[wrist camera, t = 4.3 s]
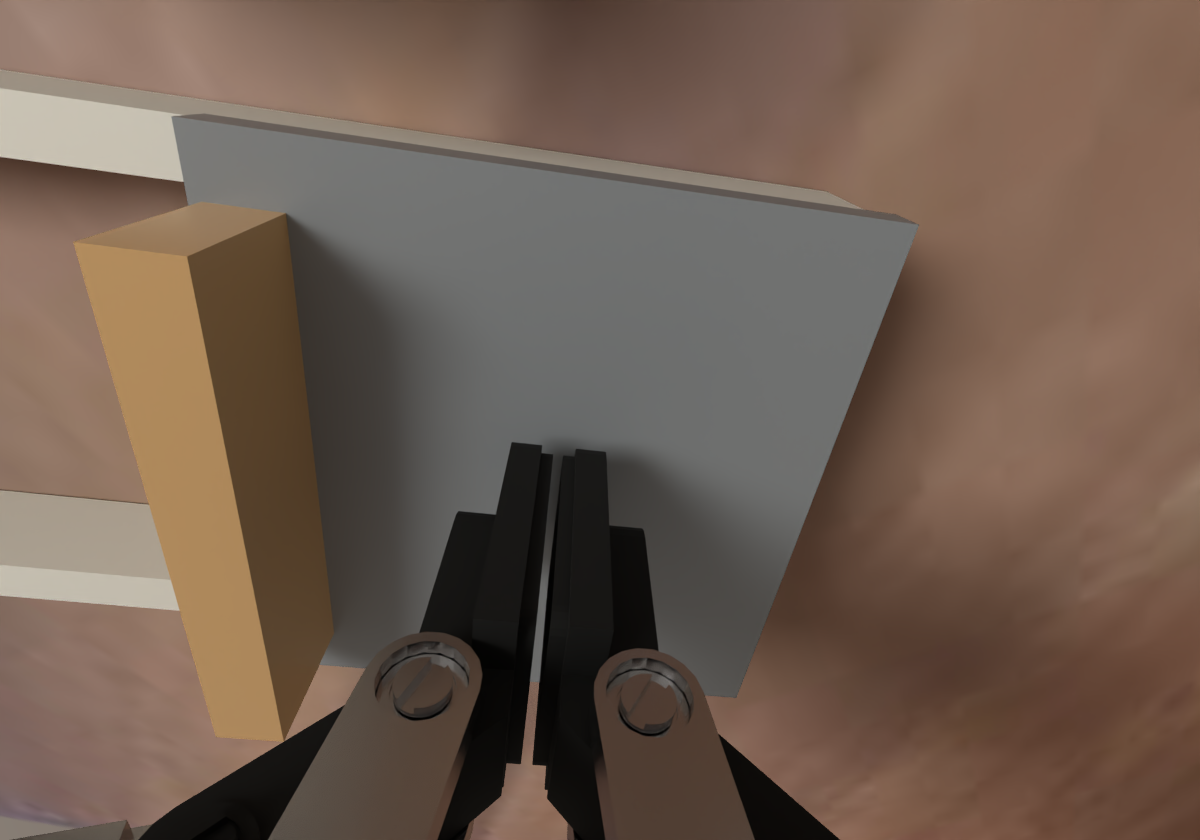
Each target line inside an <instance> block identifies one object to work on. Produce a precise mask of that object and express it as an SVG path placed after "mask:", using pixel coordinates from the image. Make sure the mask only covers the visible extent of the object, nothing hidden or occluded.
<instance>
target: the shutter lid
mask: <svg viewBox="0 0 1200 840" xmlns="http://www.w3.org/2000/svg"><path fill="white" fill-rule="evenodd" d="M171 118H172V123H173V128H174V133H175V139H176V144H177V149H178V154H179V160H180V165H181V170H182V175H183V181H184V186H185V191H186V196H187V202H188V206H186V207H183V208H180V209H177V210H173V211H170V212H167V213H164V214H161V215H158V216H154V217H151V218H148V219H145V220H142V221H138V222H135V223H132V224H129V225H126V226H123V227H119V228H116V229H113V230H110V231H107V232H103V233H100V234H97V235H94V236H91V237H88V238H84V239H81V240H78V241H75V242H73V243H74V246H75V250H76V253H77V257H78V260H79V264H80V267H81V270H82V274H83V277H84V281H85V284H86V288H87V291H88V295H89V298H90V302H91V305H92V309H93V312H94V316H95V319H96V322H97V326H98V329H99V333H100V336H101V340H102V343H103V347H104V350H105V354H106V357H107V361H108V364H109V368H110V371H111V374H112V378H113V381H114V385H115V388H116V392H117V395H118V399H119V402H120V406H121V409H122V413H123V416H124V420H125V423H126V426H127V430H128V433H129V437H130V440H131V444H132V447H133V451H134V454H135V458H136V461H137V465H138V468H139V472H140V475H141V478H142V482H143V485H144V489H145V492H146V496H147V499H148V503H149V506H150V510H151V513H152V517H153V520H154V524H155V527H156V530H157V534H158V537H159V541H160V544H161V548H162V551H163V555H164V558H165V562H166V565H167V569H168V572H169V576H170V579H171V582H172V586H173V589H174V593H175V596H176V600H177V603H178V607H179V610H180V614H181V617H182V621H183V624H184V628H185V631H186V634H187V638H188V641H189V645H190V648H191V652H192V655H193V659H194V662H195V666H196V669H197V673H198V676H199V680H200V683H201V686H202V690H203V693H204V697H205V700H206V704H207V707H208V711H209V714H210V718H211V721H212V725H213V728H214V732H215V735H216V737H223V738H238V739H252V740H267V741H281V742H284V740H285V738H286V736H287V733H288V731H289V729H290V727H291V725H292V723H293V721H294V718H295V716H296V714H297V712H298V710H299V708H300V706H301V703H302V701H303V699H304V697H305V695H306V693H307V690H308V688H309V686H310V684H311V682H312V680H313V678H314V675H315V673H316V671H317V669H318V667H319V665H329V666H342V667H354V668H366V667H367V666H368V664H369V663H370V662H371V661H372V659H373V658H374V657H375V655H376V654H377V653H378V652H379V651H381V650H382V649H383V648H385V647H386V646H387V645H389V644H390V643H391V642H393V641H395V640H398V639H400V638H402V637H405V636H407V635H410V634H416V633H419V632H420V628H421V625H422V622H423V619H424V616H425V612H426V609H427V606H428V603H429V599H430V596H431V593H432V590H433V587H434V583H435V580H436V577H437V574H438V570H439V567H440V564H441V561H442V558H443V554H444V551H445V548H446V545H447V542H448V538H449V535H450V532H451V529H452V525H453V522H454V519H455V516H456V514H457V512H458V511H463V512H474V513H485V514H495V515H496V511H497V506H498V502H499V497H500V493H501V488H502V483H503V479H504V474H505V470H506V465H507V461H508V456H509V451H510V447H511V443H512V442H517V443H527V444H536V445H542V453H545V454H553V463H552V473H551V483H550V493H549V503H548V513H547V523H546V533H545V543H544V553H543V563H542V573H541V583H540V593H539V603H538V613H537V623H536V632H535V641H534V650H533V659H532V668H531V677H530V681H531V682H539V681H540V669H541V658H542V646H543V634H544V622H545V611H546V599H547V587H548V577H549V568H550V559H551V551H552V543H553V534H554V526H555V518H556V509H557V501H558V493H559V484H560V476H561V468H562V460H563V455H564V456H575V450H576V449H584V450H594V451H604V452H606V457H607V481H608V504H609V525H612V526H622V527H633V528H642V529H643V530H644V534H645V540H646V548H647V556H648V565H649V573H650V582H651V590H652V598H653V607H654V615H655V623H656V632H657V640H658V649H659V652H662V653H665V654H668V655H670V656H672V657H674V658H675V659H677V660H678V661H680V662H681V663H683V664H684V665H685V666H686V667H687V668H688V669H689V670H690V671H691V672H692V673H693V674H694V676H695V677H696V678H697V680H698V682H699V684H700V686H701V688H702V690H703V692H704V695H708V696H721V697H733V698H736V697H737V695H738V692H739V689H740V687H741V684H742V682H743V679H744V676H745V674H746V671H747V669H748V666H749V663H750V661H751V658H752V656H753V653H754V651H755V648H756V645H757V643H758V640H759V638H760V635H761V632H762V630H763V627H764V625H765V622H766V619H767V617H768V614H769V612H770V609H771V607H772V604H773V601H774V599H775V596H776V594H777V591H778V588H779V586H780V583H781V581H782V578H783V576H784V573H785V570H786V568H787V565H788V563H789V560H790V557H791V555H792V552H793V550H794V547H795V544H796V542H797V539H798V537H799V534H800V532H801V529H802V526H803V524H804V521H805V519H806V516H807V513H808V511H809V508H810V506H811V503H812V500H813V498H814V495H815V493H816V490H817V488H818V485H819V482H820V480H821V477H822V475H823V472H824V469H825V467H826V464H827V462H828V459H829V457H830V454H831V451H832V449H833V446H834V444H835V441H836V438H837V436H838V433H839V431H840V428H841V425H842V423H843V420H844V418H845V415H846V413H847V410H848V407H849V405H850V402H851V400H852V397H853V394H854V392H855V389H856V387H857V384H858V381H859V379H860V376H861V374H862V371H863V369H864V366H865V363H866V361H867V358H868V356H869V353H870V350H871V348H872V345H873V343H874V340H875V338H876V335H877V332H878V330H879V327H880V325H881V322H882V319H883V317H884V314H885V312H886V309H887V306H888V304H889V301H890V299H891V296H892V294H893V291H894V288H895V286H896V283H897V281H898V278H899V275H900V273H901V270H902V268H903V265H904V262H905V260H906V257H907V255H908V252H909V250H910V247H911V244H912V242H913V239H914V237H915V234H916V231H917V229H918V226H919V225H918V224H916V223H914V222H912V221H909V220H907V219H905V218H903V217H900V216H898V215H896V214H889V213H883V212H876V211H869V210H862V209H855V208H848V207H842V206H835V205H828V204H821V203H814V202H807V201H800V200H794V199H787V198H780V197H773V196H766V195H759V194H753V193H746V192H739V191H732V190H725V189H718V188H711V187H705V186H698V185H691V184H684V183H677V182H670V181H664V180H657V179H650V178H643V177H636V176H629V175H622V174H616V173H609V172H602V171H595V170H588V169H581V168H574V167H568V166H561V165H554V164H547V163H540V162H533V161H527V160H520V159H513V158H506V157H499V156H492V155H485V154H479V153H472V152H465V151H458V150H451V149H444V148H438V147H431V146H424V145H417V144H410V143H403V142H396V141H390V140H383V139H376V138H369V137H362V136H355V135H349V134H342V133H335V132H328V131H321V130H314V129H307V128H301V127H294V126H287V125H280V124H273V123H266V122H260V121H253V120H246V119H239V118H232V117H225V116H218V115H212V114H205V113H203V114H191V115H180V116H171Z"/></svg>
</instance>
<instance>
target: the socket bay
mask: <svg viewBox="0 0 1200 840" xmlns="http://www.w3.org/2000/svg"><path fill="white" fill-rule="evenodd" d="M203 113H205V114H212V115H218V116H225V117H232V118H239V119H246V120H253V121H260V122H266V123H273V124H280V125H287V126H294V127H301V128H307V129H314V130H321V131H328V132H335V133H342V134H349V135H355V136H362V137H369V138H376V139H383V140H390V141H396V142H403V143H410V144H417V145H424V146H431V147H438V148H444V149H451V150H458V151H465V152H472V153H479V154H485V155H492V156H499V157H506V158H513V159H520V160H527V161H533V162H540V163H547V164H554V165H561V166H568V167H574V168H581V169H588V170H595V171H602V172H609V173H616V174H622V175H629V176H636V177H643V178H650V179H657V180H664V181H670V182H677V183H684V184H691V185H698V186H705V187H711V188H718V189H725V190H732V191H739V192H746V193H753V194H759V195H766V196H773V197H780V198H787V199H794V200H800V201H807V202H814V203H821V204H828V205H835V206H842V207H848V208H855V209H862V208H860V207H858V206H856V205H854V204H851V203H849V202H847V201H845V200H843V199H841V198H839V197H837V196H835V195H833V194H831V193H829V192H826V191H820V190H813V189H806V188H799V187H792V186H786V185H779V184H772V183H765V182H759V181H752V180H745V179H738V178H732V177H725V176H718V175H711V174H705V173H698V172H691V171H684V170H677V169H671V168H664V167H657V166H650V165H644V164H637V163H630V162H623V161H617V160H610V159H603V158H596V157H589V156H583V155H576V154H569V153H562V152H556V151H549V150H542V149H535V148H529V147H522V146H515V145H508V144H501V143H495V142H488V141H481V140H474V139H468V138H461V137H454V136H447V135H441V134H434V133H427V132H420V131H413V130H407V129H400V128H393V127H386V126H380V125H373V124H366V123H359V122H353V121H346V120H339V119H332V118H326V117H319V116H312V115H305V114H298V113H292V112H285V111H278V110H271V109H265V108H258V107H251V106H244V105H238V104H231V103H224V102H217V101H210V100H204V99H197V98H190V97H183V96H177V95H170V94H163V93H156V92H150V91H143V90H136V89H129V88H122V87H116V86H109V85H102V84H95V83H89V82H82V81H75V80H68V79H62V78H55V77H48V76H41V75H34V74H28V73H21V72H14V71H7V70H1V69H0V157H5V158H13V159H20V160H27V161H34V162H42V163H49V164H56V165H64V166H71V167H78V168H85V169H93V170H100V171H107V172H115V173H122V174H129V175H136V176H144V177H151V178H158V179H166V180H173V181H180V182H184V181H183V175H182V170H181V165H180V160H179V154H178V149H177V144H176V139H175V133H174V128H173V123H172V118H171V116H180V115H191V114H203ZM862 210H864V209H862ZM0 595H1V596H13V597H25V598H37V599H48V600H60V601H72V602H84V603H96V604H108V605H119V606H131V607H143V608H155V609H167V610H179V607H178V603H177V600H176V596H175V593H174V589H173V586H172V582H171V579H170V576H169V572H168V569H167V565H166V562H165V558H164V555H163V551H162V548H161V544H160V541H159V537H158V534H157V530H156V527H155V524H154V520H153V517H152V513H151V510H150V506H149V505H148V504H137V503H127V502H117V501H106V500H96V499H86V498H75V497H65V496H55V495H45V494H34V493H24V492H14V491H3V490H0ZM179 611H180V610H179Z"/></svg>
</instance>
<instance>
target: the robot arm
mask: <svg viewBox="0 0 1200 840" xmlns="http://www.w3.org/2000/svg"><path fill="white" fill-rule="evenodd" d="M552 463H553V454H545V453H542V445H536V444H527V443H517V442H512V443H511V447H510V451H509V456H508V461H507V465H506V470H505V474H504V479H503V483H502V488H501V493H500V497H499V502H498V506H497V511H496V515H495V514H485V513H474V512H463V511H458V512H457V514H456V516H455V519H454V522H453V525H452V529H451V532H450V535H449V538H448V542H447V545H446V548H445V551H444V554H443V558H442V561H441V564H440V567H439V570H438V574H437V577H436V580H435V583H434V587H433V590H432V593H431V596H430V599H429V603H428V606H427V609H426V612H425V616H424V619H423V622H422V625H421V628H420V632H419V633H416V634H410V635H407V636H405V637H402V638H400V639H398V640H395V641H393V642H391V643H390V644H389V645H387V646H386V647H385V648H383V649H382V650H381V651H379V652H378V653H377V654H376V655H375V657H374V658H373V659H372V661H371V662H370V663H369V664H368V666H367V667H366V669H365V671H364V672H363V674H362V676H361V678H360V679H359V681H358V683H357V685H356V686H355V688H354V690H353V692H352V693H351V695H350V697H349V699H348V700H347V702H346V704H345V705H344V706H342V707H341V708H339V709H337V710H336V711H334V712H332V713H331V714H329V715H327V716H326V717H324V718H323V719H321V720H319V721H318V722H316V723H314V724H313V725H311V726H309V727H308V728H306V729H304V730H303V731H301V732H299V733H298V734H296V735H294V736H293V737H291V738H289V739H288V740H286V741H284V742H283V743H281V744H279V745H278V746H276V747H274V748H273V749H271V750H270V751H268V752H266V753H265V754H263V755H261V756H260V757H258V758H256V759H255V760H253V761H251V762H250V763H248V764H246V765H245V766H243V767H241V768H240V769H238V770H236V771H235V772H233V773H231V774H230V775H228V776H226V777H225V778H223V779H222V780H220V781H218V782H217V783H215V784H213V785H212V786H210V787H208V788H207V789H205V790H203V791H202V792H200V793H198V794H197V795H195V796H193V797H192V798H190V799H188V800H187V801H185V802H183V803H182V804H180V805H178V806H177V807H175V808H174V809H173V810H171V811H170V812H168V813H167V814H166V815H164V816H163V817H162V818H160V819H159V820H158V821H156V822H155V823H154V824H152V825H146V826H141V827H135V828H130V825H129V823H128V821H127V820H123V821H118V822H112V823H106V824H100V825H94V826H89V827H83V828H77V829H71V830H66V831H60V832H54V833H48V834H42V835H36V836H30V837H25V838H19V839H13V840H470V838H471V834H472V831H473V825H474V819H475V818H476V817H477V816H478V815H479V814H481V813H482V812H483V811H484V810H485V809H486V808H488V807H489V806H490V805H491V804H492V803H493V802H494V801H496V800H497V799H498V798H499V797H500V796H501V793H502V787H503V786H504V778H505V770H506V763H512V764H521V757H522V748H523V739H524V730H525V721H526V712H527V703H528V695H529V686H530V677H531V668H532V659H533V650H534V641H535V632H536V623H537V613H538V603H539V593H540V583H541V573H542V563H543V553H544V543H545V533H546V523H547V513H548V503H549V493H550V483H551V473H552ZM533 765H544V766H546V777H545V790H548V795H547V799H548V800H549V801H550V802H551V803H552V805H553V806H554V807H555V808H556V809H557V811H558V812H559V813H560V814H561V815H562V816H563V818H564V819H565V820H566V821H567V822H568V827H567V839H568V840H840V839H838V838H837V837H836V836H835V835H834V834H833V833H832V832H830V831H829V830H828V829H827V828H826V827H825V826H823V825H822V824H821V823H820V822H819V821H818V820H817V819H815V818H814V817H813V816H812V815H811V814H810V813H809V812H807V811H806V810H805V809H804V808H803V807H802V806H801V805H799V804H798V803H797V802H796V801H795V800H794V799H793V798H791V797H790V796H789V795H788V794H787V793H786V792H785V791H783V790H782V789H781V788H780V787H779V786H778V785H776V784H775V783H774V782H773V781H772V780H771V779H770V778H768V777H767V776H766V775H765V774H764V773H763V772H762V771H760V770H759V769H758V768H757V767H756V766H755V765H754V764H752V763H751V762H750V761H749V760H748V759H747V758H746V757H744V756H743V755H742V754H741V753H740V752H739V751H738V750H736V749H735V748H734V747H733V746H732V745H731V744H729V743H728V742H727V741H726V740H725V739H724V738H723V737H721V736H720V735H719V734H718V732H717V729H716V726H715V724H714V721H713V718H712V715H711V712H710V709H709V706H708V703H707V700H706V698H705V695H704V692H703V690H702V688H701V686H700V684H699V682H698V680H697V678H696V677H695V676H694V674H693V673H692V672H691V671H690V670H689V669H688V668H687V667H686V666H685V665H684V664H683V663H681V662H680V661H678V660H677V659H675V658H674V657H672V656H670V655H668V654H665V653H662V652H659V649H658V640H657V632H656V623H655V615H654V607H653V598H652V590H651V582H650V573H649V565H648V556H647V548H646V540H645V534H644V530H643V529H642V528H633V527H622V526H612V525H609V504H608V481H607V457H606V452H604V451H594V450H584V449H576V450H575V456H564V455H563V460H562V468H561V476H560V484H559V493H558V501H557V509H556V518H555V526H554V534H553V543H552V551H551V559H550V568H549V577H548V587H547V599H546V611H545V622H544V634H543V646H542V658H541V669H540V681H539V693H538V704H537V716H536V728H535V740H534V751H533Z"/></svg>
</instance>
